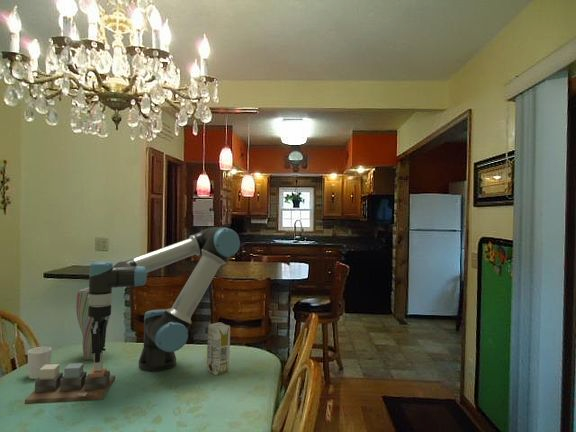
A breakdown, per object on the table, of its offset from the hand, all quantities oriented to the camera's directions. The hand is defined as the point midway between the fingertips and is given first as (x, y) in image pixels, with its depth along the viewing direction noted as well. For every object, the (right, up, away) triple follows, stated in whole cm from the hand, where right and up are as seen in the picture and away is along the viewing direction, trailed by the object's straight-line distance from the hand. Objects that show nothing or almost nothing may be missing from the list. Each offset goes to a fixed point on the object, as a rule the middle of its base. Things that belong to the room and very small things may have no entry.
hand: (98, 370), depth 145 cm
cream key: (-16, -3, -3) cm, 16 cm away
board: (-8, -7, -2) cm, 10 cm away
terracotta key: (0, -5, 0) cm, 5 cm away
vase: (-17, -7, +31) cm, 36 cm away
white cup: (-28, -6, +10) cm, 30 cm away
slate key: (-8, -3, -1) cm, 9 cm away
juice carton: (+40, -8, +20) cm, 45 cm away
